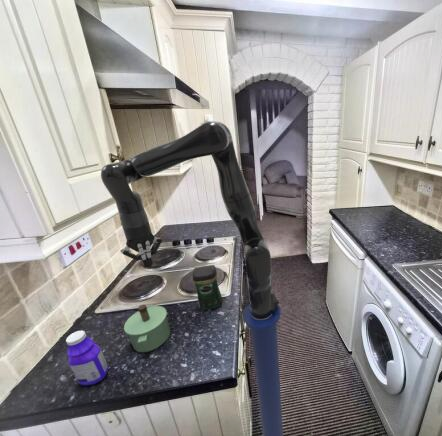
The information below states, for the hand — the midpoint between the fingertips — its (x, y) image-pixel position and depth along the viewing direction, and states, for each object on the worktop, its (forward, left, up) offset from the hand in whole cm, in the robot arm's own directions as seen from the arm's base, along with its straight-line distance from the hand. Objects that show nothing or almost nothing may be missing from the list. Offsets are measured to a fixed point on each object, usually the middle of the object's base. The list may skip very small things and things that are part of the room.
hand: (148, 266), depth 83 cm
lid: (+3, +8, -17) cm, 19 cm away
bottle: (+17, +18, -25) cm, 35 cm away
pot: (+3, +8, -25) cm, 26 cm away
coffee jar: (-18, -2, -25) cm, 31 cm away
